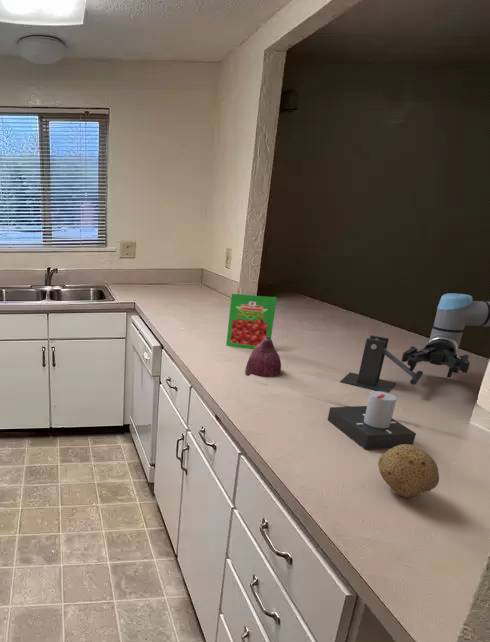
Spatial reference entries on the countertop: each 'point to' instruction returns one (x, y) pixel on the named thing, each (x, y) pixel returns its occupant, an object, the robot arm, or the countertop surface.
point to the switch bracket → (371, 367)
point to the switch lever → (403, 367)
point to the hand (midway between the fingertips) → (430, 369)
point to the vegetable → (264, 360)
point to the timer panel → (369, 429)
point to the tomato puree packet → (250, 320)
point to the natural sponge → (408, 470)
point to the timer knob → (380, 409)
